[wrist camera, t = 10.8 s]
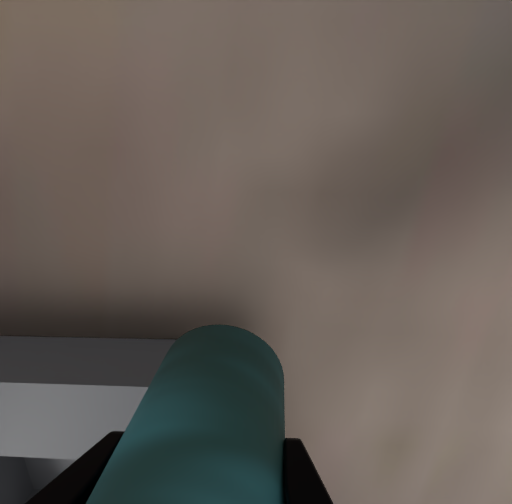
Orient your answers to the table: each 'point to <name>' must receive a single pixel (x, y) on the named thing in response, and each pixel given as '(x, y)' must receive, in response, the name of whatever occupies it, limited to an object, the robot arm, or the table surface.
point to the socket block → (65, 401)
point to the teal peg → (204, 427)
